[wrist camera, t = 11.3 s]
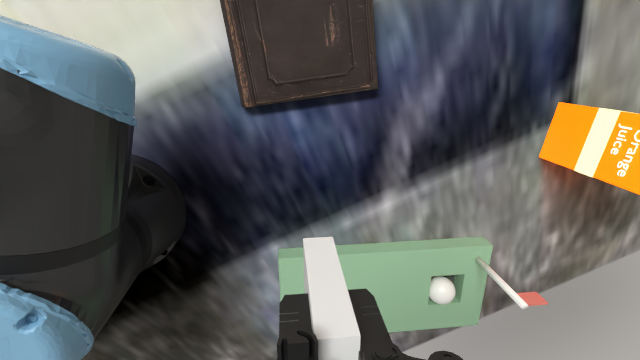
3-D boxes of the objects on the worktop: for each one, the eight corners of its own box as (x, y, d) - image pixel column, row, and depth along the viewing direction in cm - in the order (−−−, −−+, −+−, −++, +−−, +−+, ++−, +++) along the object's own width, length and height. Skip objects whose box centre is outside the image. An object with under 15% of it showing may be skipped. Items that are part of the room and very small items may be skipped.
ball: (420, 296, 51) (436, 313, 48) (422, 273, 50) (438, 289, 47) (443, 290, 53) (460, 307, 49) (445, 268, 51) (462, 283, 48)
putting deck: (282, 328, 51) (282, 407, 40) (278, 248, 47) (277, 311, 35) (475, 312, 54) (528, 382, 43) (489, 236, 50) (553, 290, 38)
